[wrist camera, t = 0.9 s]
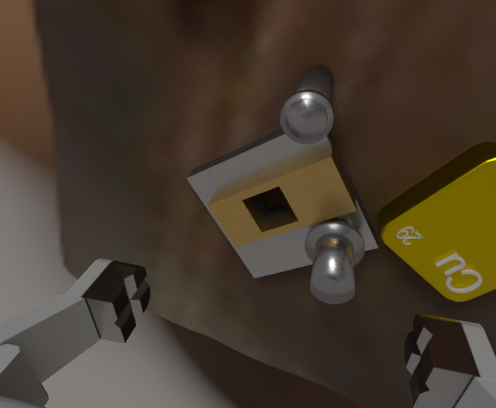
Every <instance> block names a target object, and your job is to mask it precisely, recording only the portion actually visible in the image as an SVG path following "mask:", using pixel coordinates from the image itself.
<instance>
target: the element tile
mask: <svg viewBox="0 0 496 408" xmlns="http://www.w3.org/2000/svg"><path fill="white" fill-rule="evenodd" d="M378 221H379V229H380V236H381V238H382V240H383V242H384V243H385V244H386V245H387V246H388V247H389V248H390V249H391V250H392V251H394V252H395V253H396V254H397V255H398V256H399V257H400V258H401V259H403V260H404V261H405V262H406V263H407V264H408V265H409V266H410V267H412V268H413V269H414V270H415V271H416V272H417V273H418V274H419V275H421V276H422V277H423V278H424V279H425V280H426V281H427V282H428V283H430V284H431V285H432V286H433V287H434V288H435V289H436V290H437V291H439V292H440V293H441V294H442V295H443V296H444V297H446V298H447V299H450V300H452V301H456V302H462V301H468V300H471V299H474V298H476V297H478V296H481V295H483V294H485V293H488V292H490V291H493V290H495V289H496V143H495V142H483V143H480V144H477V145H475V146H473V147H471V148H469V149H468V150H466V151H465V152H463V153H462V154H460V155H459V156H457V157H456V158H454V159H453V160H452V161H450V162H449V163H447V164H446V165H444V166H443V167H441V168H440V169H438V170H437V171H435V172H434V173H432V174H431V175H429V176H428V177H427V178H425V179H424V180H422V181H421V182H419V183H418V184H416V185H415V186H413V187H412V188H410V189H409V190H407V191H406V192H404V193H403V194H402V195H400V196H399V197H397V198H396V199H394V200H393V201H391V202H390V203H388V204H387V205H385V206H384V207H383V208H382V209H381V211H380V212H379V215H378Z"/></svg>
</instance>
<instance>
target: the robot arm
mask: <svg viewBox="0 0 496 408" xmlns="http://www.w3.org/2000/svg"><path fill="white" fill-rule="evenodd" d="M146 276H147V273H146V269H145V267H143V266H139V265H134V264H129V263H124V262H119V261H113V260H108V259H103V258H100V259H98V260H96V261H95V262H94V263H93V264H92V265H91V266H90V267H89V268H88V269H87V270H86V272H85V273H84V274H83V275H82V276H81V277H80V278H79V279H78V280H77V282H76V283H75V284H74V285H73V286H72V287H71V288H70V289H69V291H68V292H67V293H66V294H59V295H57V296H55V297H53V298H51V299H48V300H46V301H44V302H42V303H40V304H38V305H36V306H34V307H32V308H30V309H28V310H26V311H23V312H21V313H20V314H17V315H15V316H13V317H11V318H9V319H7V320H5V321H3V322H1V323H0V408H45V407H44V406H45V404H46V403H47V401H48V400H49V399H48V394H47V392H46V390H45V389H44V387H43V385H42V384H41V383H42V382H43V381H45V380H46V379H48V378H49V377H50V376H52V375H53V374H54V373H56V372H57V371H58V370H60V369H61V368H63V367H64V366H65V365H67V364H68V363H69V362H71V361H72V360H73V359H75V358H76V357H77V356H79V355H80V354H82V353H83V352H84V351H86V350H87V349H88V348H90V347H91V346H92V345H94V344H95V343H97V342H98V341H99V340H100V339H105V340H111V341H116V342H121V343H126V341H127V339H128V338H129V336H130V334H131V333H132V331H133V329H134V328H135V326H136V322H135V318H137V317H139V316H140V315H142V314H143V313H144V311H145V310H146V308H147V306H148V303H149V299H150V286H149V284H148V283H147V282H146V281H145V280H144V279H145V277H146ZM412 323H413V328H414V330H413V331H411V332H409V333H408V335H407V337H406V340H405V348H404V357H405V364H406V368H407V369H408V370H409V371H410V373H411V374H412V376H411V379H410V381H409V388H410V393H411V399H412V404H413V408H496V357H495V355H494V352H493V350H492V348H491V345H490V343H489V341H488V338H487V336H486V334H485V331H484V329H483V327H482V326H481V325H480V324H477V323H471V322H465V321H459V320H458V321H457V320H454V319H448V318H441V317H435V316H429V315H423V314H417V315H416V316H415V318H414V320H413V322H412Z"/></svg>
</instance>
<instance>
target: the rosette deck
mask: <svg viewBox="0 0 496 408" xmlns="http://www.w3.org/2000/svg"><path fill="white" fill-rule="evenodd" d="M187 180H188V181H189V183H190V184H191V186H192V187H193V189H194V190H195V192H196V193H197V195H198V196H199V197H200V199H201V200H202V202H203V203H204V205H205V206H206V208H207V209H208V211H209V212H210V214H211V215H212V217H213V218H214V220H215V221H216V222H217V224H218V225H219V227H220V228H221V230H222V231H223V233H224V234H225V236H226V237H227V239H228V240H229V242H230V243H231V245H232V246H233V247H234V249H235V250H236V252H237V253H238V255H239V256H240V258H241V259H242V261H243V262H244V264H245V265H246V267H247V268H248V269H249V271H250V272H251V274H252V275H253V277H254V278H258V277H262V276H266V275H270V274H274V273H278V272H282V271H286V270H291V269H295V268H299V267H303V266H307V265H311V264H313V266H312V274H311V283H310V290H311V292H312V294H313V295H314V296H315V297H316V298H317V299H318V300H320V301H322V302H325V303H328V304H342V303H345V302H347V301H349V300H350V299H352V297H353V296H354V294H355V272H354V266H355V265H356V264H358V263H359V262H360V261H361V259H362V258H363V256H364V253H365V251H368V250H372V249H376V248H379V247H378V239H377V235H376V232H375V230H374V228H373V226H372V224H371V222H370V219H369V217H368V215H367V213H366V211H365V208H364V206H363V204H362V202H361V200H360V197H359V195H358V193H357V191H356V189H355V187H354V184H353V182H352V180H351V178H350V176H349V173H348V171H347V169H346V167H345V165H344V162H343V160H342V158H341V156H340V154H339V152H338V149H337V147H336V145H335V143H334V141H333V138H332V136H331V134H330V132H329V133H328V135H327V136H326V137H325V138H324V139H322V140H321V141H319V142H316V143H313V144H300V143H297V142H295V141H293V140H291V139H290V138H289V137H288V136H287V135H286V134H285V133H284V131H283V129H281V130H279V131H277V132H275V133H272V134H270V135H268V136H266V137H264V138H262V139H259V140H257V141H255V142H253V143H251V144H249V145H246V146H244V147H242V148H240V149H238V150H236V151H233V152H231V153H229V154H227V155H225V156H222V157H220V158H218V159H216V160H214V161H212V162H209V163H207V164H205V165H203V166H201V167H199V168H196V169H194V170H193V171H192V172H191V173H190V175H189V176H188V177H187ZM278 186H279V187H280V188H281V190H282V192H283V194H284V196H285V197H286V199H287V201H288V203H289V204H288V205H285V206H282V207H280V208H277V209H274V210H271V211H269V210H268V208H267V207H266V205H265V203H264V202H263V200H262V198H261V197H260V195H259V194H260V193H263V192H265V191H268V190H270V189H273V188H276V187H278Z"/></svg>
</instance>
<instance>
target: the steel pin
mask: <svg viewBox="0 0 496 408" xmlns="http://www.w3.org/2000/svg"><path fill="white" fill-rule="evenodd" d="M332 87H333V76H332V73H331V72H330V70H329V69H327V68H326V67H324V66H313V67H311V68H309V69H308V70H307V71H306V72H305V74H304V75H303V78H302V80H301V82H300V84H299V86H298V88H297V90H296V93H294V94H293V95H291V96H290V97H289V98H288V99H287V101H286V102H285V104H284V106H283V108H282V110H281V114H280V123H281V127H282V129H283V131H284V133H285V134H286V135H287V136H288V137H289V138H290V139H291V140H293V141H295V142H297V143H300V144H313V143H316V142H319V141H321V140H322V139H324V138H325V137H326V136H327V135H328V133H329V132H330V130H331V128H332V126H333V122H334V110H333V106H332V104H331V95H332Z"/></svg>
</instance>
